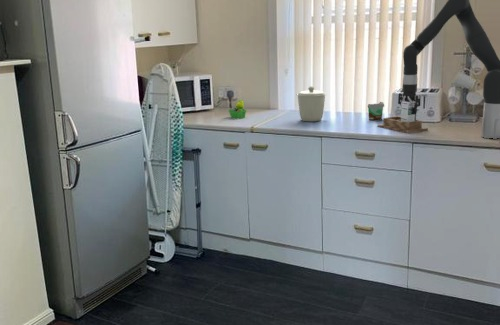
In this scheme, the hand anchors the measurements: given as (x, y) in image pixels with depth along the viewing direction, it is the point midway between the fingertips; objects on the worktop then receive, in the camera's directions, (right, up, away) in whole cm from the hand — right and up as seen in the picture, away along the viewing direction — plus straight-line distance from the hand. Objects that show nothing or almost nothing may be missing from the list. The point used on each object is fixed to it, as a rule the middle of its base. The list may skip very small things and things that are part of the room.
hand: (408, 113), depth 275 cm
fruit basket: (-94, +3, +61) cm, 112 cm away
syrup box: (0, -8, +2) cm, 8 cm away
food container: (-8, -1, +35) cm, 36 cm away
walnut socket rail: (-2, -8, +6) cm, 10 cm away
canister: (-48, -1, +40) cm, 62 cm away
